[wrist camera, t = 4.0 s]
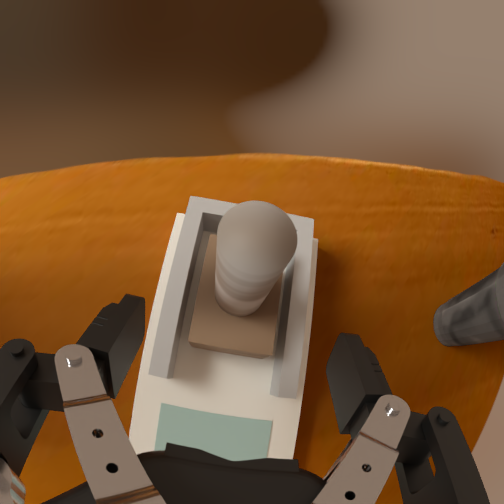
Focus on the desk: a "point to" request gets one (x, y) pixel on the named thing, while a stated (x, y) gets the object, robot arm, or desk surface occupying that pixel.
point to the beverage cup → (473, 313)
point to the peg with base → (243, 281)
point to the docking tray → (222, 356)
